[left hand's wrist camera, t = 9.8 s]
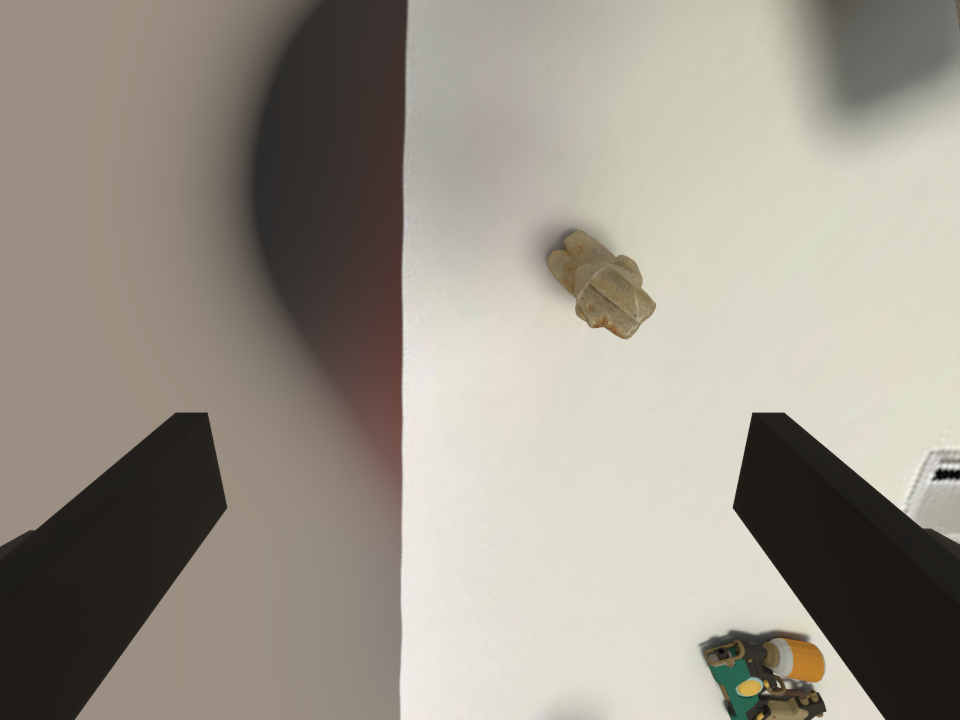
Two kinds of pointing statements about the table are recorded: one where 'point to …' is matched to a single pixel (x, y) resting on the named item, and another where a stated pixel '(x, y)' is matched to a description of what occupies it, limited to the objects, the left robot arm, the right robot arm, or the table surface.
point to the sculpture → (602, 285)
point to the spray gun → (768, 678)
